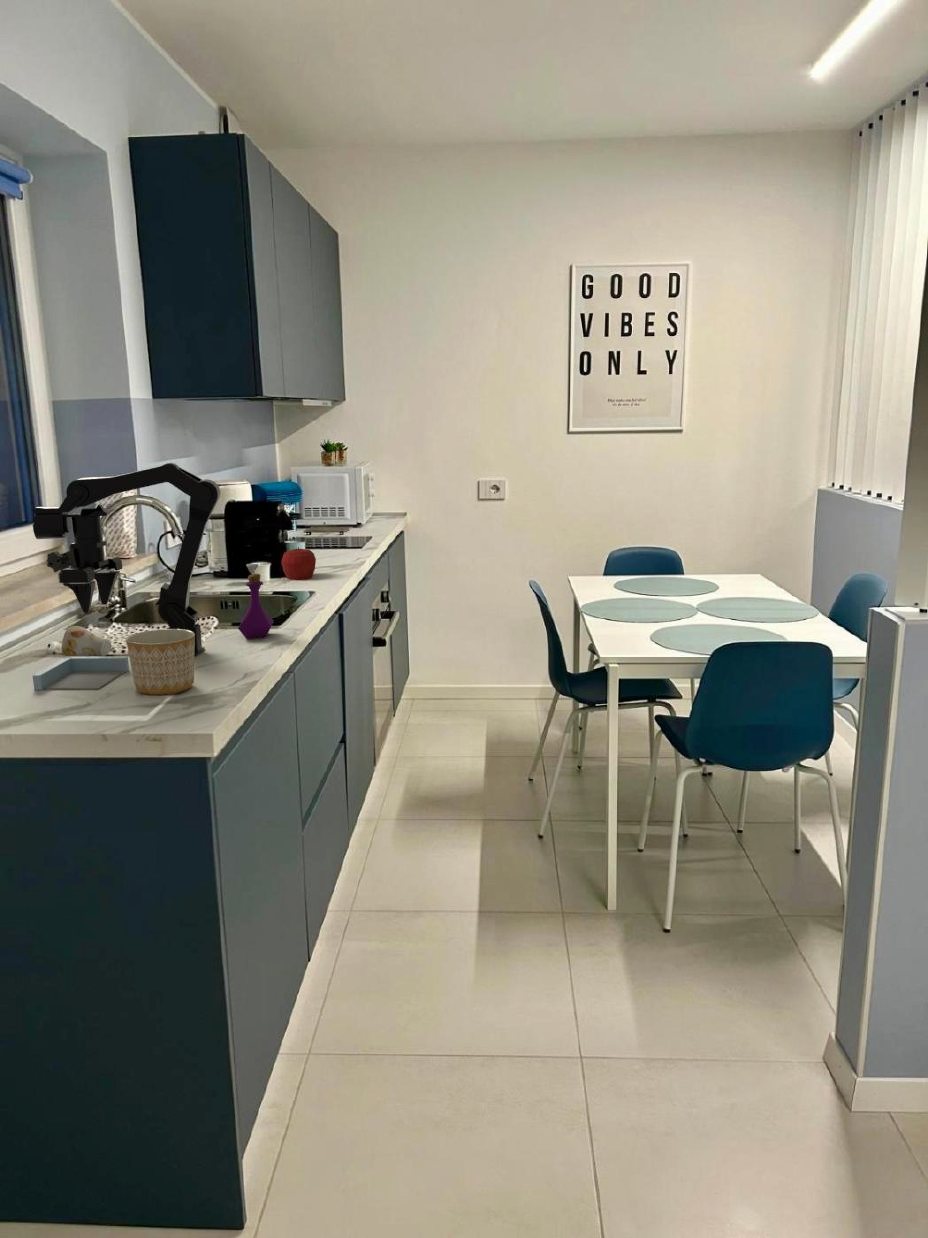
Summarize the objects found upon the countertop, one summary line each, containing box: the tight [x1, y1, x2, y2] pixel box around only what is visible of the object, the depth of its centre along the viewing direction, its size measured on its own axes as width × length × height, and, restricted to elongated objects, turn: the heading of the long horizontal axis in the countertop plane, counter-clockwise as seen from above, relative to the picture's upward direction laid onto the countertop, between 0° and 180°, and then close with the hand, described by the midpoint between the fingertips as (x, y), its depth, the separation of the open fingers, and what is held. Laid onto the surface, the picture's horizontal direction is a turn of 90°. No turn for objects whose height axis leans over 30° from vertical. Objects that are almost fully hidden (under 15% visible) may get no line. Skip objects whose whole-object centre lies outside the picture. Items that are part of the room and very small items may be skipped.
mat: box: [45, 671, 125, 691], centre depth 188 cm, size 11×12×1 cm
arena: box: [32, 656, 130, 691], centre depth 189 cm, size 13×14×3 cm
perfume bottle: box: [237, 563, 274, 640], centre depth 221 cm, size 8×8×18 cm
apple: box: [281, 546, 317, 581], centre depth 295 cm, size 11×11×12 cm
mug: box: [61, 625, 114, 657], centre depth 205 cm, size 8×10×10 cm
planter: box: [126, 628, 195, 696], centre depth 182 cm, size 13×13×10 cm
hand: (95, 608), depth 204 cm, fingers open, 9 cm apart
